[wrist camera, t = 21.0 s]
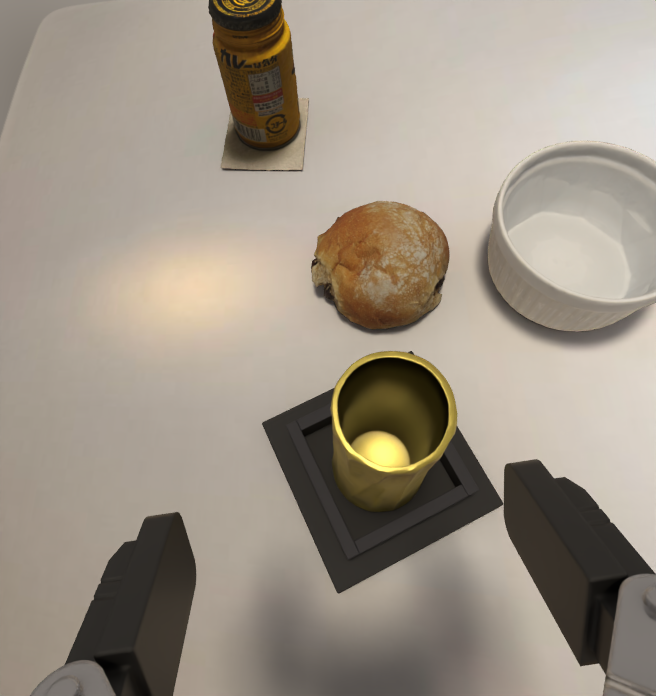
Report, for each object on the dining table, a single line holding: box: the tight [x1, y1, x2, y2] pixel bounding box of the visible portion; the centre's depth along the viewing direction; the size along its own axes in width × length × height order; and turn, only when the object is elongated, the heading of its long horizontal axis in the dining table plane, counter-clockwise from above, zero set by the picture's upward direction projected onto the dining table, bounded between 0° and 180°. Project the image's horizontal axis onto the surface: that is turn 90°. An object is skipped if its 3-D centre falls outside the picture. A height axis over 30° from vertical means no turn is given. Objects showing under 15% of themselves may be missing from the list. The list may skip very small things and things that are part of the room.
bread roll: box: [311, 201, 449, 329], centre depth 38 cm, size 10×10×8 cm
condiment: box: [208, 0, 309, 171], centre depth 41 cm, size 7×8×12 cm
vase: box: [330, 351, 457, 512], centre depth 27 cm, size 6×6×14 cm
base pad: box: [262, 351, 503, 593], centre depth 34 cm, size 12×12×3 cm
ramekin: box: [488, 141, 656, 332], centre depth 37 cm, size 13×13×7 cm
